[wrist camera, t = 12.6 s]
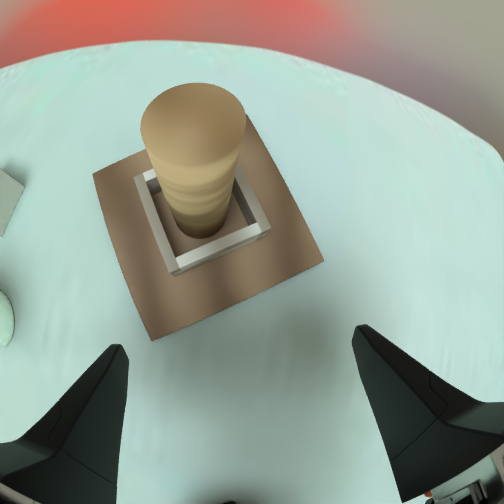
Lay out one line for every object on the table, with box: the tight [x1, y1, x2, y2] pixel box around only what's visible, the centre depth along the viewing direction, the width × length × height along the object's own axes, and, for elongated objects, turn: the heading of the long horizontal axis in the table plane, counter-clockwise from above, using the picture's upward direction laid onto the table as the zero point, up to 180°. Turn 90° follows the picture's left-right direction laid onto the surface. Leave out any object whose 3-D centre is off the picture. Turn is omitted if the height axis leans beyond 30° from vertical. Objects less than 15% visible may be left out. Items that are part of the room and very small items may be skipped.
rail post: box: [140, 83, 246, 239], centre depth 17 cm, size 4×4×13 cm
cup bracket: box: [93, 114, 324, 341], centre depth 22 cm, size 16×16×4 cm
